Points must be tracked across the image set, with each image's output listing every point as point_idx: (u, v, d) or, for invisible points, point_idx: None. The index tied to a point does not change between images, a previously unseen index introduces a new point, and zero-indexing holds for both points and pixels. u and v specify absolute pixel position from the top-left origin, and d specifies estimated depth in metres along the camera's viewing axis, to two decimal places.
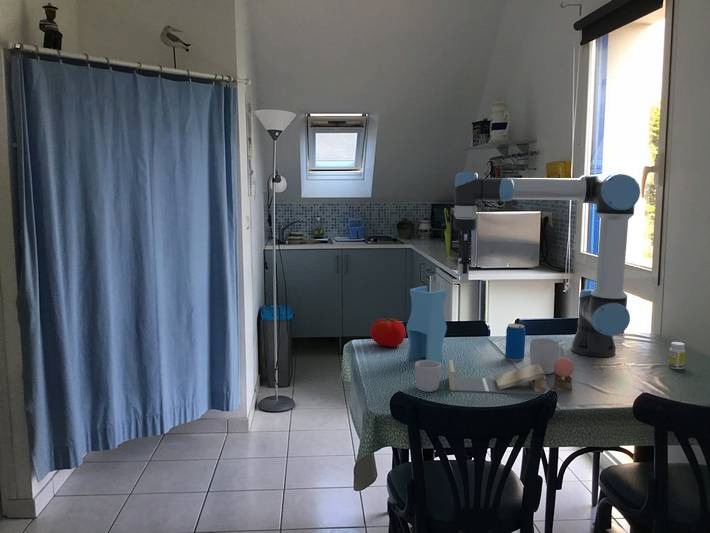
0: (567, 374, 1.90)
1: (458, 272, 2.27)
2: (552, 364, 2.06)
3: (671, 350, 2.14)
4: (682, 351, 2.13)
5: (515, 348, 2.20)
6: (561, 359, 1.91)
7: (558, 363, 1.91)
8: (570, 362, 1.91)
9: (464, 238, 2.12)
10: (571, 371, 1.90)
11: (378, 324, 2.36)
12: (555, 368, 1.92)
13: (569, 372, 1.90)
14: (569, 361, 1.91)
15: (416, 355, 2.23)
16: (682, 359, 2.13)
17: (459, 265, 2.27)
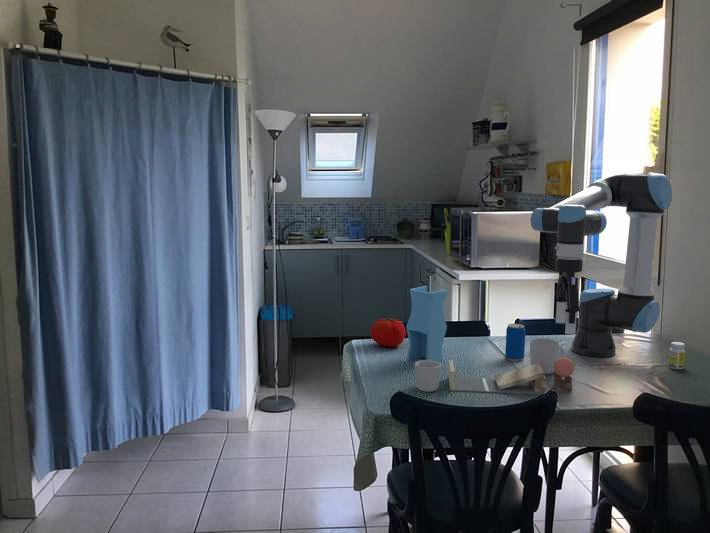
0: (567, 374, 1.90)
1: (556, 318, 1.97)
2: (552, 364, 2.06)
3: (671, 350, 2.14)
4: (682, 351, 2.13)
5: (515, 348, 2.20)
6: (561, 359, 1.91)
7: (558, 363, 1.91)
8: (570, 362, 1.91)
9: (572, 282, 1.82)
10: (571, 371, 1.90)
11: (378, 324, 2.36)
12: (555, 368, 1.92)
13: (569, 372, 1.90)
14: (569, 361, 1.91)
15: (416, 355, 2.23)
16: (682, 359, 2.13)
17: (558, 310, 1.97)
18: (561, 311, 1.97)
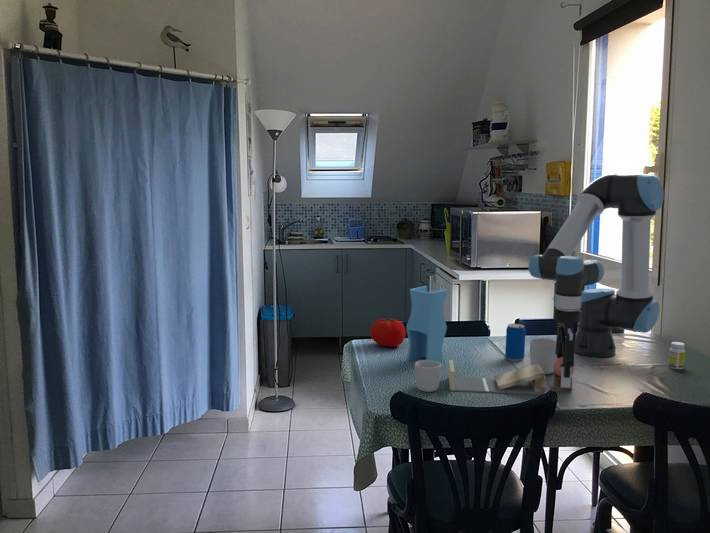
0: None
1: None
2: (552, 364, 2.06)
3: (671, 350, 2.14)
4: (682, 351, 2.13)
5: (515, 348, 2.20)
6: (561, 359, 1.91)
7: (558, 363, 1.91)
8: None
9: (569, 339, 1.85)
10: (571, 371, 1.90)
11: (378, 324, 2.36)
12: (555, 368, 1.92)
13: None
14: None
15: (416, 355, 2.23)
16: (682, 359, 2.13)
17: None
18: None
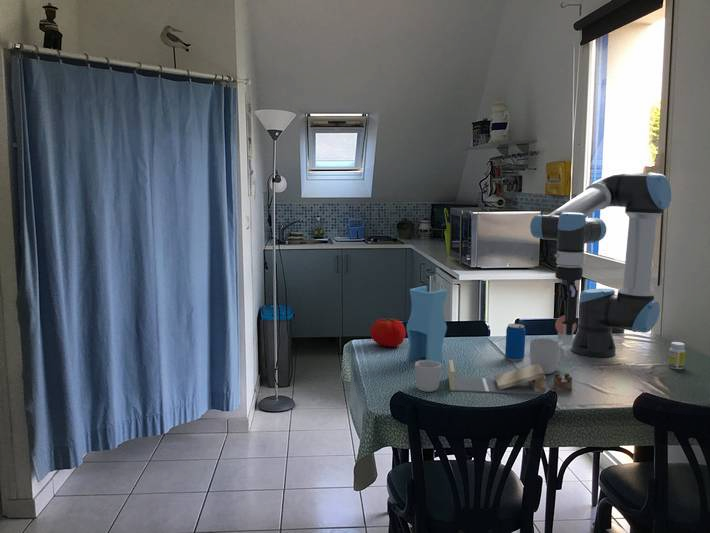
0: None
1: (558, 334, 1.94)
2: (552, 364, 2.06)
3: (671, 350, 2.14)
4: (682, 351, 2.13)
5: (515, 348, 2.20)
6: (563, 317, 1.89)
7: (560, 321, 1.89)
8: None
9: (571, 295, 1.83)
10: (573, 329, 1.88)
11: (378, 324, 2.36)
12: (557, 326, 1.90)
13: None
14: None
15: (416, 355, 2.23)
16: (682, 359, 2.13)
17: None
18: None
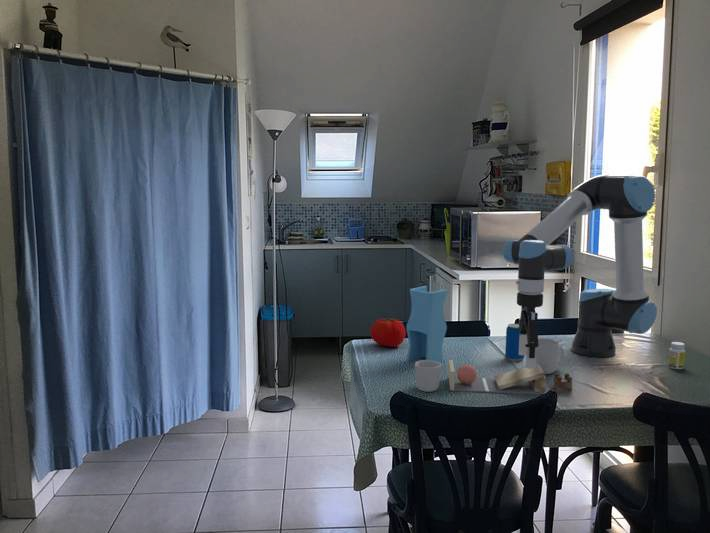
0: (472, 378, 1.93)
1: (519, 350, 2.00)
2: (552, 364, 2.06)
3: (671, 350, 2.14)
4: (682, 351, 2.13)
5: (515, 348, 2.20)
6: (458, 372, 1.95)
7: (458, 377, 1.95)
8: (465, 368, 1.94)
9: (531, 318, 1.84)
10: (472, 373, 1.93)
11: (378, 324, 2.36)
12: (461, 382, 1.95)
13: (472, 376, 1.93)
14: (464, 368, 1.94)
15: (416, 355, 2.23)
16: (682, 359, 2.13)
17: (520, 342, 1.99)
18: (523, 344, 1.99)
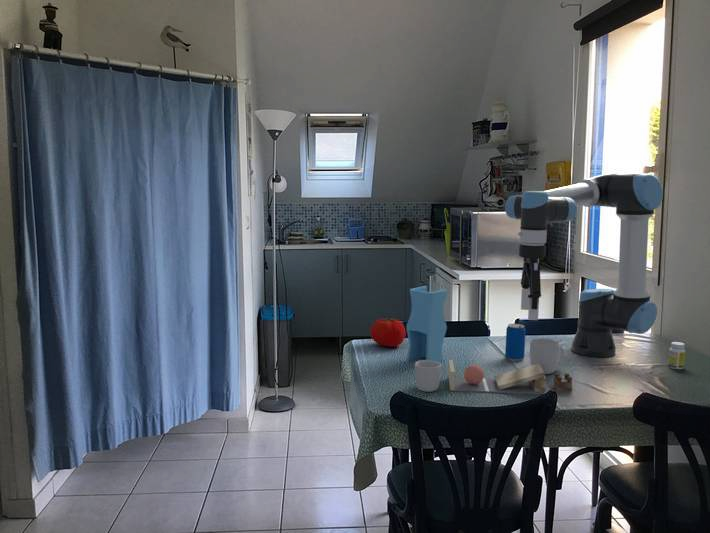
0: (477, 381, 1.93)
1: (521, 305, 1.97)
2: (552, 364, 2.06)
3: (671, 350, 2.14)
4: (682, 351, 2.13)
5: (515, 348, 2.20)
6: (469, 367, 1.95)
7: (467, 372, 1.94)
8: (478, 369, 1.94)
9: (534, 268, 1.82)
10: (480, 378, 1.93)
11: (378, 324, 2.36)
12: (465, 377, 1.95)
13: (478, 379, 1.93)
14: (477, 368, 1.94)
15: (416, 355, 2.23)
16: (682, 359, 2.13)
17: (523, 297, 1.97)
18: (526, 298, 1.97)
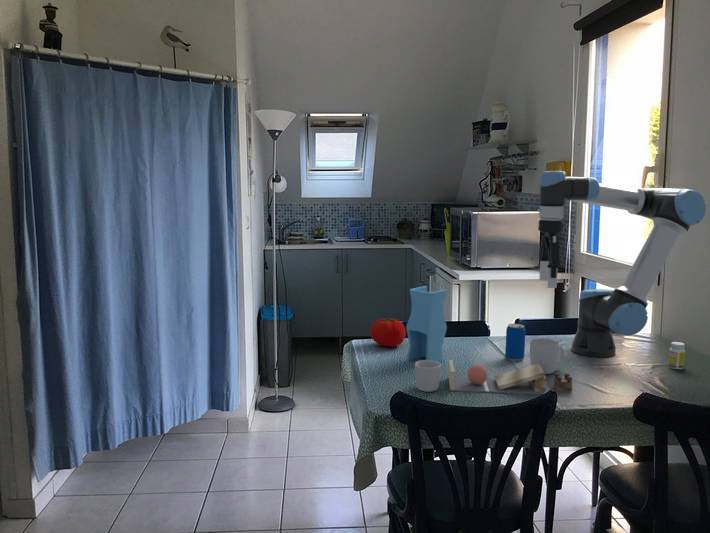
0: (479, 382, 1.93)
1: (540, 276, 2.16)
2: (552, 364, 2.06)
3: (671, 350, 2.14)
4: (682, 351, 2.13)
5: (515, 348, 2.20)
6: (476, 366, 1.94)
7: (472, 370, 1.94)
8: (484, 371, 1.94)
9: (553, 240, 2.01)
10: (483, 380, 1.93)
11: (378, 324, 2.36)
12: (469, 374, 1.95)
13: (481, 380, 1.93)
14: (483, 370, 1.94)
15: (416, 355, 2.23)
16: (682, 359, 2.13)
17: (541, 269, 2.16)
18: (544, 270, 2.16)
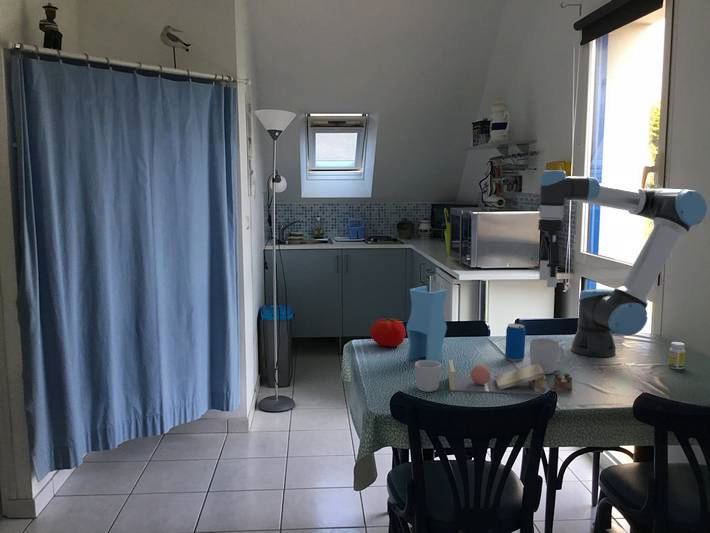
0: (480, 382, 1.93)
1: (540, 275, 2.16)
2: (552, 364, 2.06)
3: (671, 350, 2.14)
4: (682, 351, 2.13)
5: (515, 348, 2.20)
6: (482, 367, 1.94)
7: (478, 369, 1.94)
8: (488, 373, 1.94)
9: (552, 240, 2.01)
10: (485, 381, 1.93)
11: (378, 324, 2.36)
12: (473, 372, 1.94)
13: (483, 381, 1.93)
14: (488, 372, 1.94)
15: (416, 355, 2.23)
16: (682, 359, 2.13)
17: (541, 268, 2.16)
18: (544, 269, 2.16)
